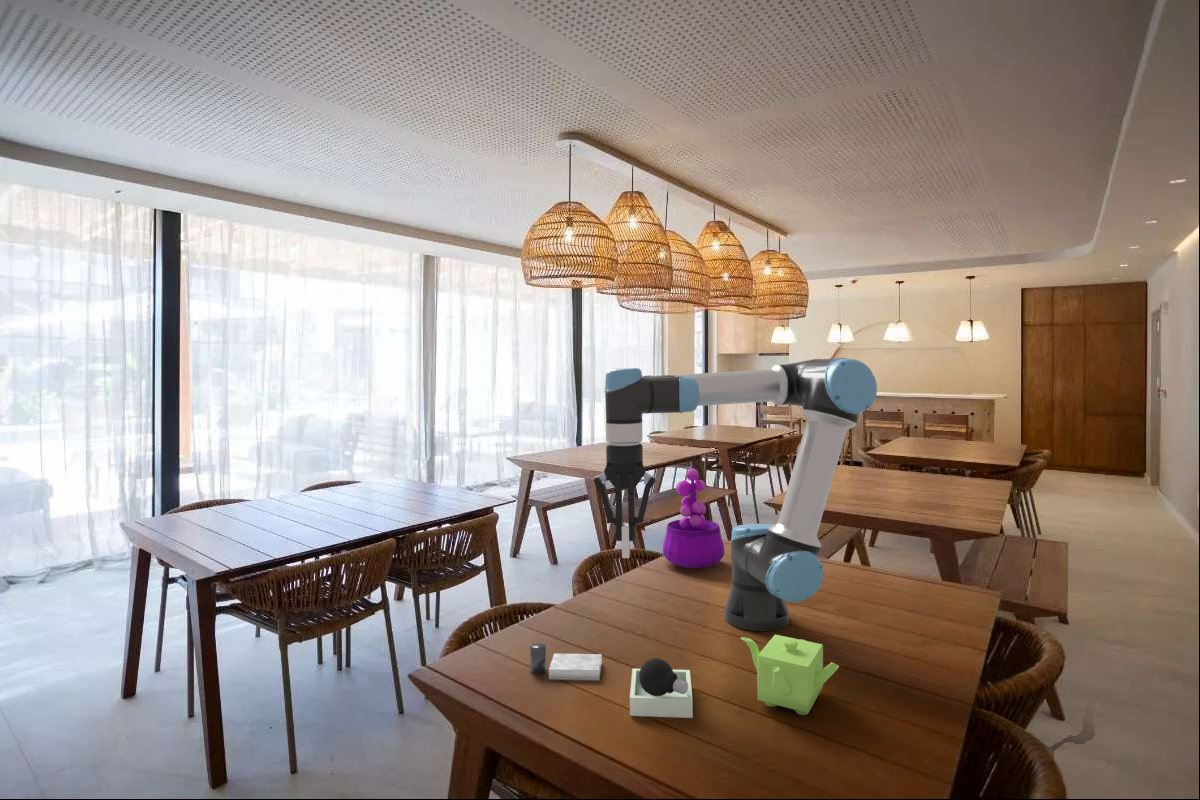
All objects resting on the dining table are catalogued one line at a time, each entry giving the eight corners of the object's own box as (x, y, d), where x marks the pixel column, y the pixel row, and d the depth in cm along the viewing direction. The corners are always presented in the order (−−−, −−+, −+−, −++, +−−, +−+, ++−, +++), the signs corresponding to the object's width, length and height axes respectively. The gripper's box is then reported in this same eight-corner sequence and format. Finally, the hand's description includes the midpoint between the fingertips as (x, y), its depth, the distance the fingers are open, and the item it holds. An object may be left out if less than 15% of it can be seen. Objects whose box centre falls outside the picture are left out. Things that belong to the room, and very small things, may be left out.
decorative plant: (660, 573, 192) (659, 473, 190) (664, 555, 210) (663, 463, 208) (725, 575, 189) (724, 474, 187) (723, 557, 207) (723, 464, 205)
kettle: (773, 728, 110) (773, 664, 109) (735, 688, 123) (734, 631, 123) (850, 714, 113) (850, 652, 113) (804, 677, 127) (804, 621, 127)
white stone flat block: (601, 666, 134) (601, 654, 134) (599, 682, 127) (598, 670, 127) (554, 665, 135) (554, 653, 135) (549, 681, 128) (548, 669, 128)
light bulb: (681, 672, 112) (635, 654, 119) (675, 710, 111) (629, 690, 118) (700, 669, 117) (655, 652, 124) (694, 706, 116) (649, 687, 123)
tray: (689, 686, 124) (689, 670, 124) (692, 717, 113) (692, 699, 113) (632, 685, 125) (632, 668, 125) (630, 715, 114) (629, 697, 114)
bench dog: (547, 666, 133) (547, 643, 133) (544, 674, 130) (544, 649, 130) (532, 666, 134) (531, 642, 133) (529, 673, 131) (528, 649, 130)
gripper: (656, 440, 136) (657, 551, 137) (594, 441, 137) (596, 550, 138) (655, 445, 128) (657, 561, 130) (590, 445, 130) (592, 561, 131)
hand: (626, 556), depth 134 cm, fingers closed
